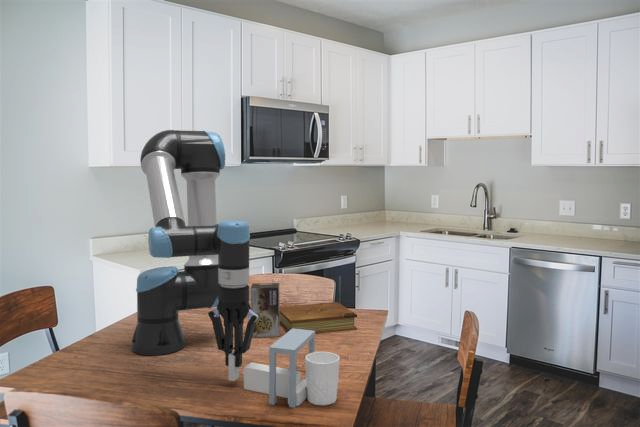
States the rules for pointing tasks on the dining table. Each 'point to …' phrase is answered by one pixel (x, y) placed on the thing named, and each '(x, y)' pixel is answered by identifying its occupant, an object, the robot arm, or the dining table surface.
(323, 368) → the white cup
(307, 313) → the diary
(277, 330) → the food box
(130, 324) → the dining table surface
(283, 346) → the bridge
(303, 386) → the white l-shaped block
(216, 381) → the dining table surface
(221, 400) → the dining table surface
